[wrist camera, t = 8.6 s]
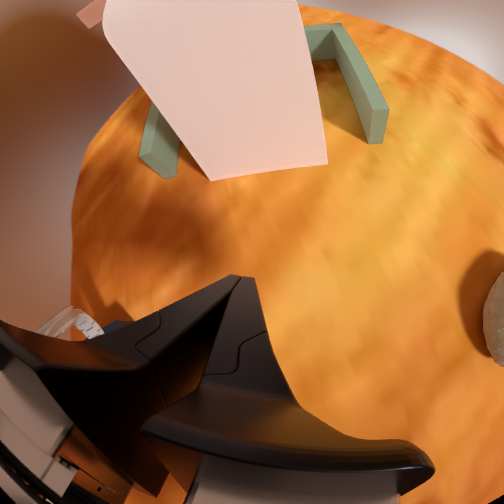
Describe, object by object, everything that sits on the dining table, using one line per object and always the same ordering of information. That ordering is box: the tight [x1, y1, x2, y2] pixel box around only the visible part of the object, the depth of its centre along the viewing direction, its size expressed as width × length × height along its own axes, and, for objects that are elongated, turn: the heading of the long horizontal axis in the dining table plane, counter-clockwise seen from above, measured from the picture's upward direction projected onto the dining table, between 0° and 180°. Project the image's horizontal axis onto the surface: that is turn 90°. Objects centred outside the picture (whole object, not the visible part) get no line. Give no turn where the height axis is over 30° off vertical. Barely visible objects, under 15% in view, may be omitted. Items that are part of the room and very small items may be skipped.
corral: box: [76, 0, 389, 179], centre depth 19 cm, size 16×28×19 cm, turn 93°
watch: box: [35, 305, 133, 340], centre depth 20 cm, size 6×8×11 cm
